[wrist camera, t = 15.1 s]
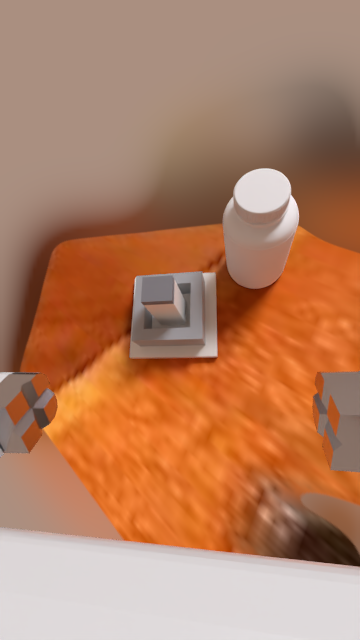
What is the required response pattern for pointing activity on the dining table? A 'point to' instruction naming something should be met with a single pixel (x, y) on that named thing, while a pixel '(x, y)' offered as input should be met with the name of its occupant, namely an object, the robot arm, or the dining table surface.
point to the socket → (182, 338)
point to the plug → (164, 299)
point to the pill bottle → (259, 228)
